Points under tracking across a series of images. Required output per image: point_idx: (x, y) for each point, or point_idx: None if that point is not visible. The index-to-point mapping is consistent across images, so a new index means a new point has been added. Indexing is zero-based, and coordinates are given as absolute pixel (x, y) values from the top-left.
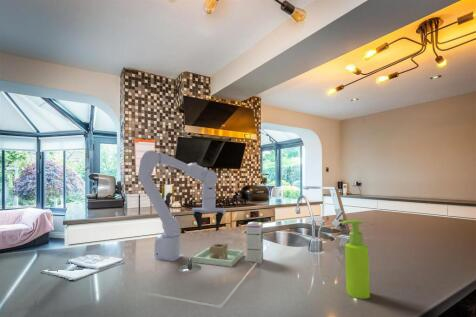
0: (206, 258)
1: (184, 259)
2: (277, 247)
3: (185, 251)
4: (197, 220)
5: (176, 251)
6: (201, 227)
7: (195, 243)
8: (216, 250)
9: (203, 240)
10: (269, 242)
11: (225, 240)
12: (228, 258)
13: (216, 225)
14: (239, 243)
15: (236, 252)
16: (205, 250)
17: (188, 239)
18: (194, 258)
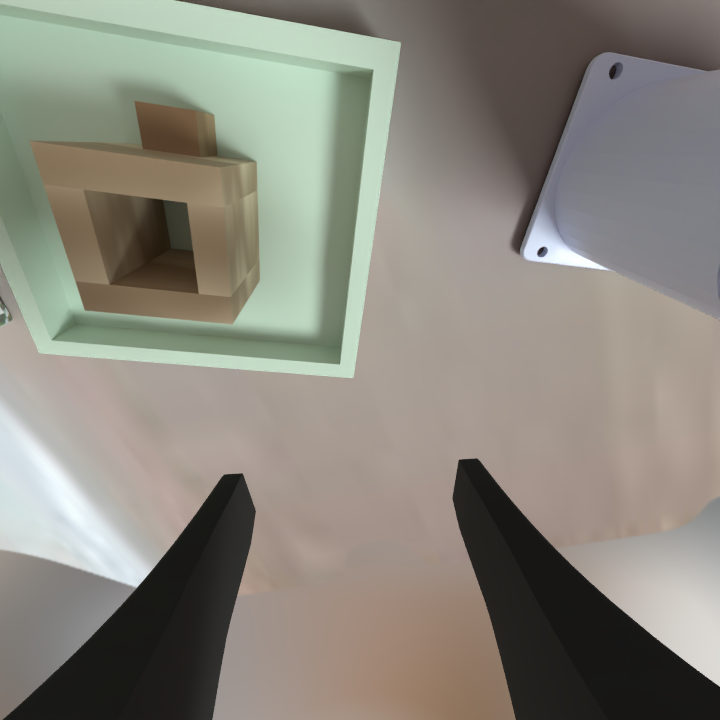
0: (224, 13)
1: (498, 174)
2: (7, 524)
3: (526, 361)
4: (567, 592)
5: (619, 143)
6: (459, 520)
7: None
8: (143, 152)
9: (458, 542)
10: (104, 574)
11: (341, 560)
12: None
13: (202, 536)
14: None
15: (99, 337)
16: (350, 302)
17: None
18: (379, 42)
